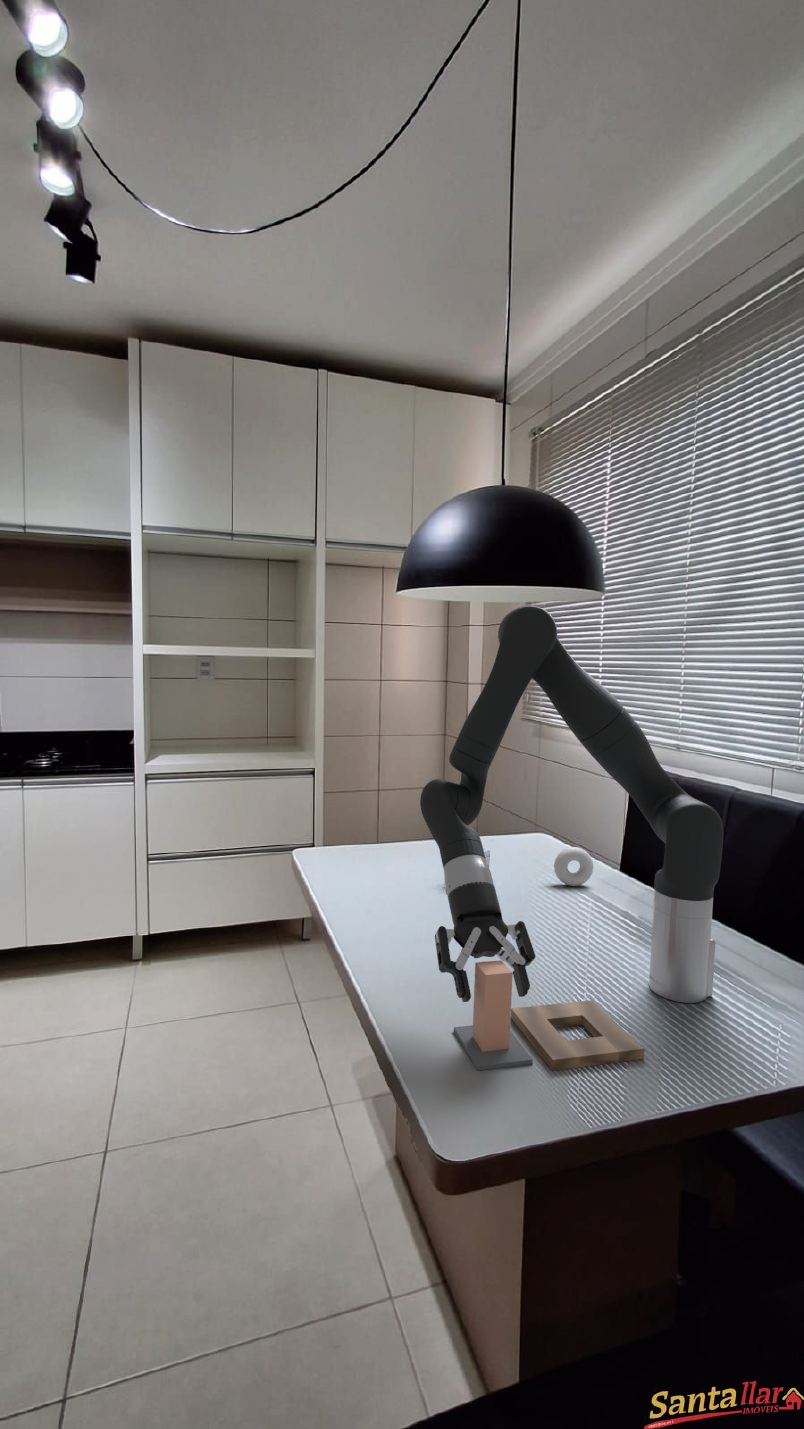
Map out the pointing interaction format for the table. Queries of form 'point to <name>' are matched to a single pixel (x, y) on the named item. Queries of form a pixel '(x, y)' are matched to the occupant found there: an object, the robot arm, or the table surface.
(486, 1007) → the block
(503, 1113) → the table surface
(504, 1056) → the mat
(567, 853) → the donut
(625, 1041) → the puzzle board
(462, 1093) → the table surface
